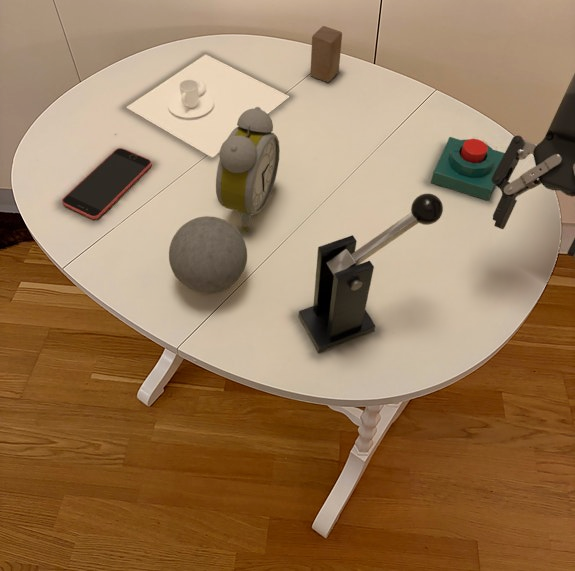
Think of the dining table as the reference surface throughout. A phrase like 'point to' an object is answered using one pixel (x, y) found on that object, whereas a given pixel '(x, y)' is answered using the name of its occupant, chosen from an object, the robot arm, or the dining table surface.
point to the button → (474, 150)
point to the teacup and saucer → (205, 103)
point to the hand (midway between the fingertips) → (533, 241)
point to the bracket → (338, 299)
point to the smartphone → (106, 183)
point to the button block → (466, 170)
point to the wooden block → (325, 53)
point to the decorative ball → (208, 255)
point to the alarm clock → (248, 165)
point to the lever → (391, 232)
